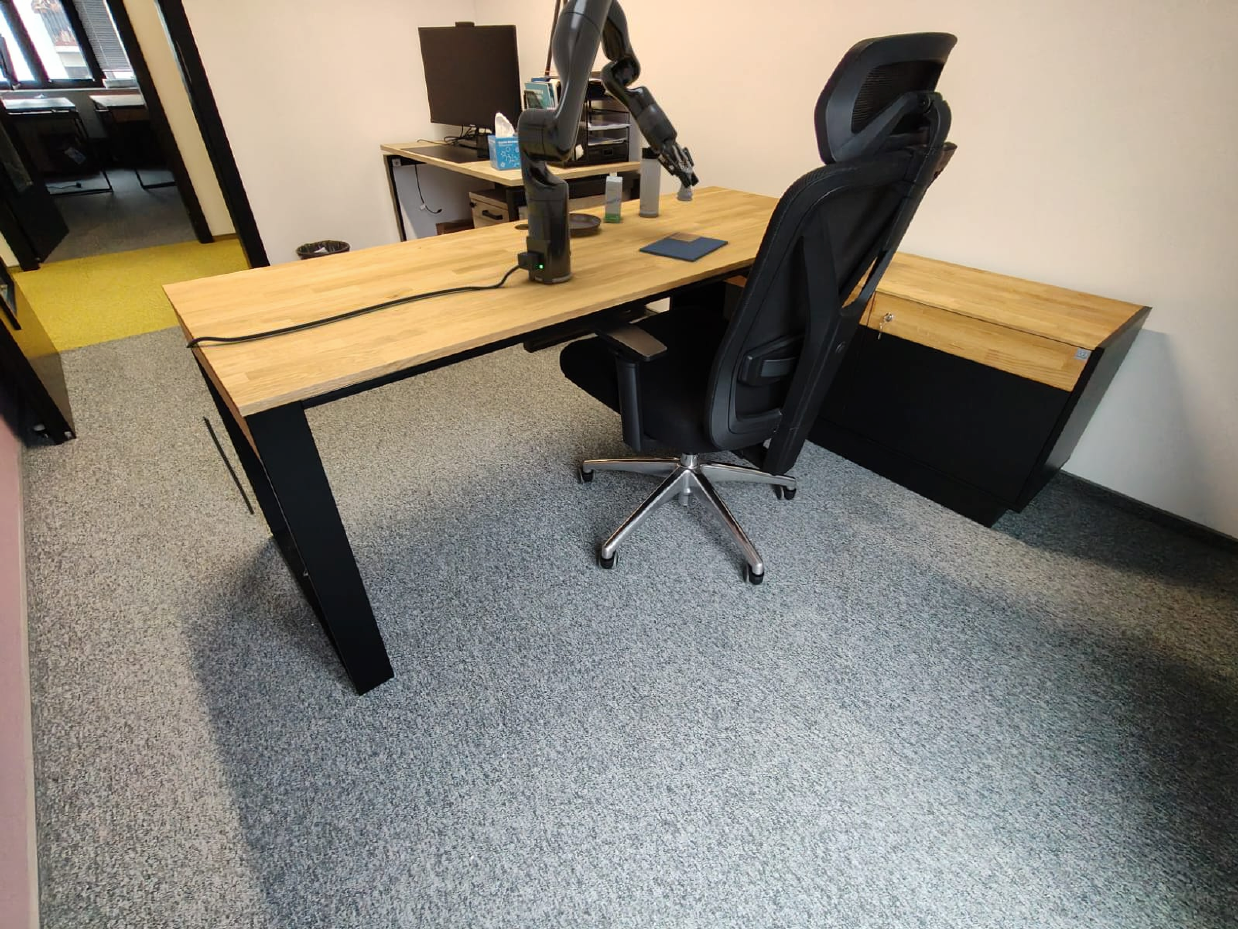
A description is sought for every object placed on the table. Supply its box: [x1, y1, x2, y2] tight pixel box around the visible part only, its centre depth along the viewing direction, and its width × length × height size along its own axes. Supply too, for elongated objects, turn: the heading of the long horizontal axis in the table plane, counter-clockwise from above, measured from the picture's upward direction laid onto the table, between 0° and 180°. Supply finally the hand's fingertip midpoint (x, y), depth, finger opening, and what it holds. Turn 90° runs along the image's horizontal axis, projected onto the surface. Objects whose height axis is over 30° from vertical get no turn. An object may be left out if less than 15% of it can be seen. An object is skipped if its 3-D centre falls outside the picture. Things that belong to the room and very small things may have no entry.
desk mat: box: [638, 231, 729, 263], centre depth 153 cm, size 22×16×1 cm
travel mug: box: [638, 146, 662, 218], centre depth 177 cm, size 6×7×20 cm
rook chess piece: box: [676, 166, 694, 203], centre depth 150 cm, size 4×4×8 cm
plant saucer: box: [569, 212, 603, 237], centre depth 164 cm, size 18×18×3 cm
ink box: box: [604, 175, 623, 224], centre depth 174 cm, size 9×5×12 cm, turn 179°
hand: (692, 184), depth 150 cm, fingers closed on rook chess piece, 3 cm apart
